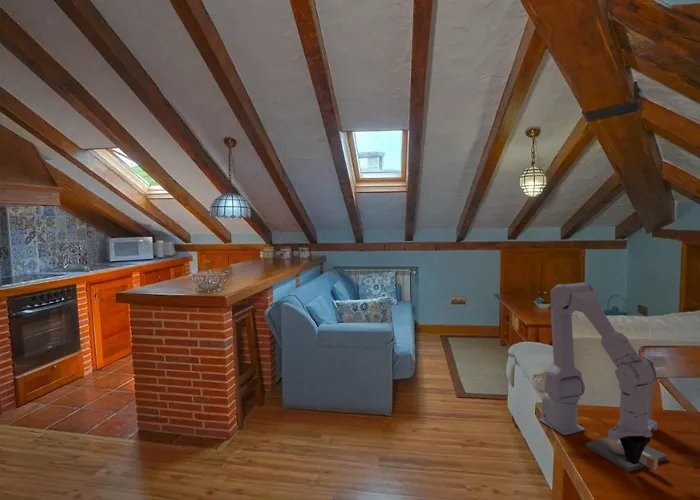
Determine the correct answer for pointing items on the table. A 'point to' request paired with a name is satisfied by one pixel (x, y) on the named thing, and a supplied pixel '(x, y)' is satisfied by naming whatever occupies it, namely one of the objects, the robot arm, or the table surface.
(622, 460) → the flat gray base
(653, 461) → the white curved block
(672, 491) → the table surface
